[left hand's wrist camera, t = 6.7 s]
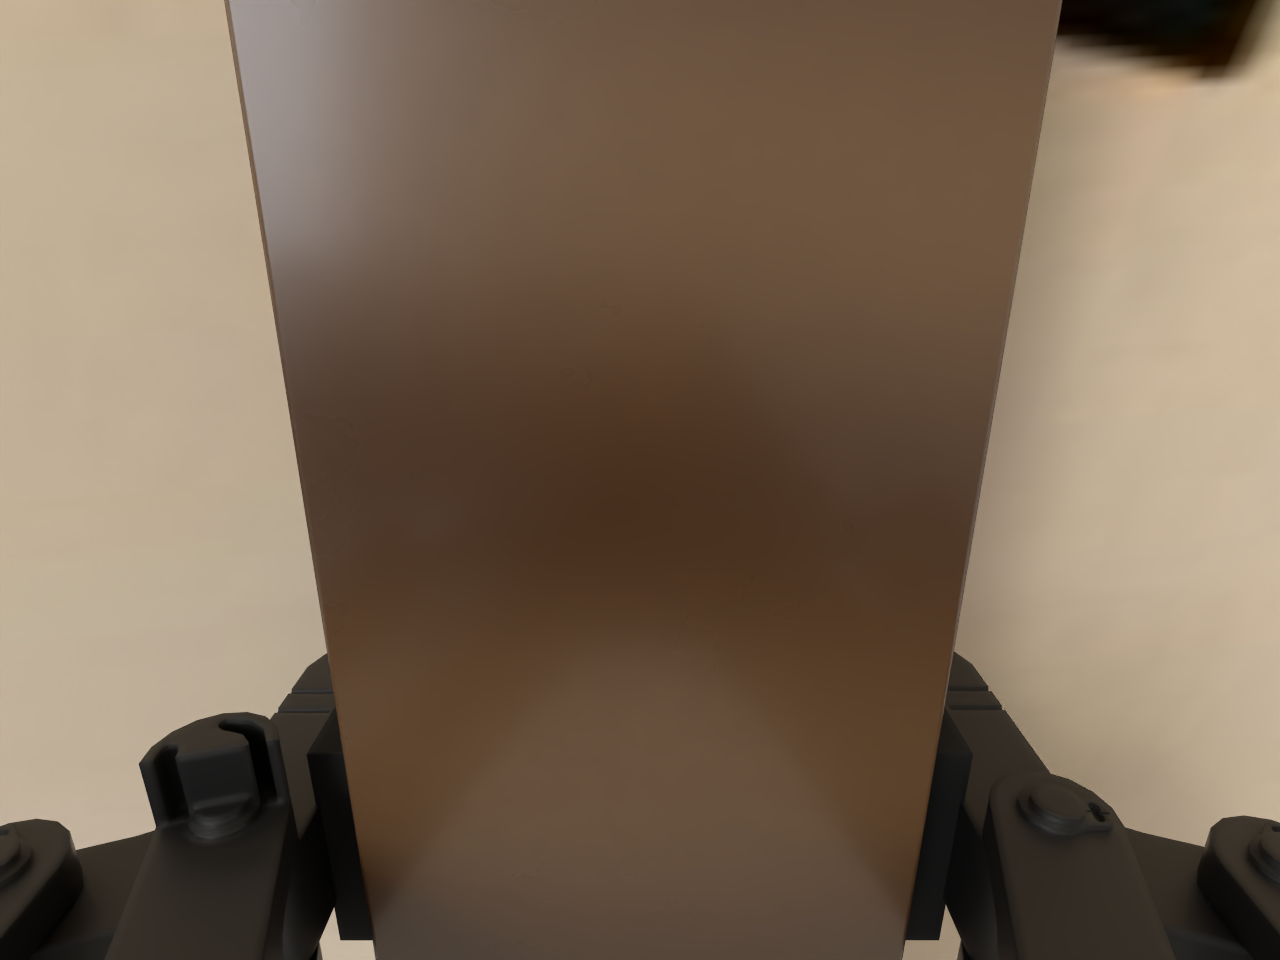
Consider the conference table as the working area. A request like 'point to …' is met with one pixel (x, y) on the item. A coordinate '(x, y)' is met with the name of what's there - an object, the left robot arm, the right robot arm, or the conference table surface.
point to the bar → (641, 443)
